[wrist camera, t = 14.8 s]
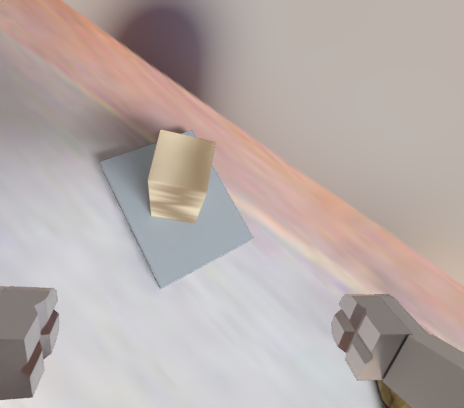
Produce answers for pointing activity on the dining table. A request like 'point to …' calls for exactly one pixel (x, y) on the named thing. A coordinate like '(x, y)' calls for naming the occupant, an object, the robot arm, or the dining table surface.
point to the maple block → (179, 176)
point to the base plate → (171, 231)
